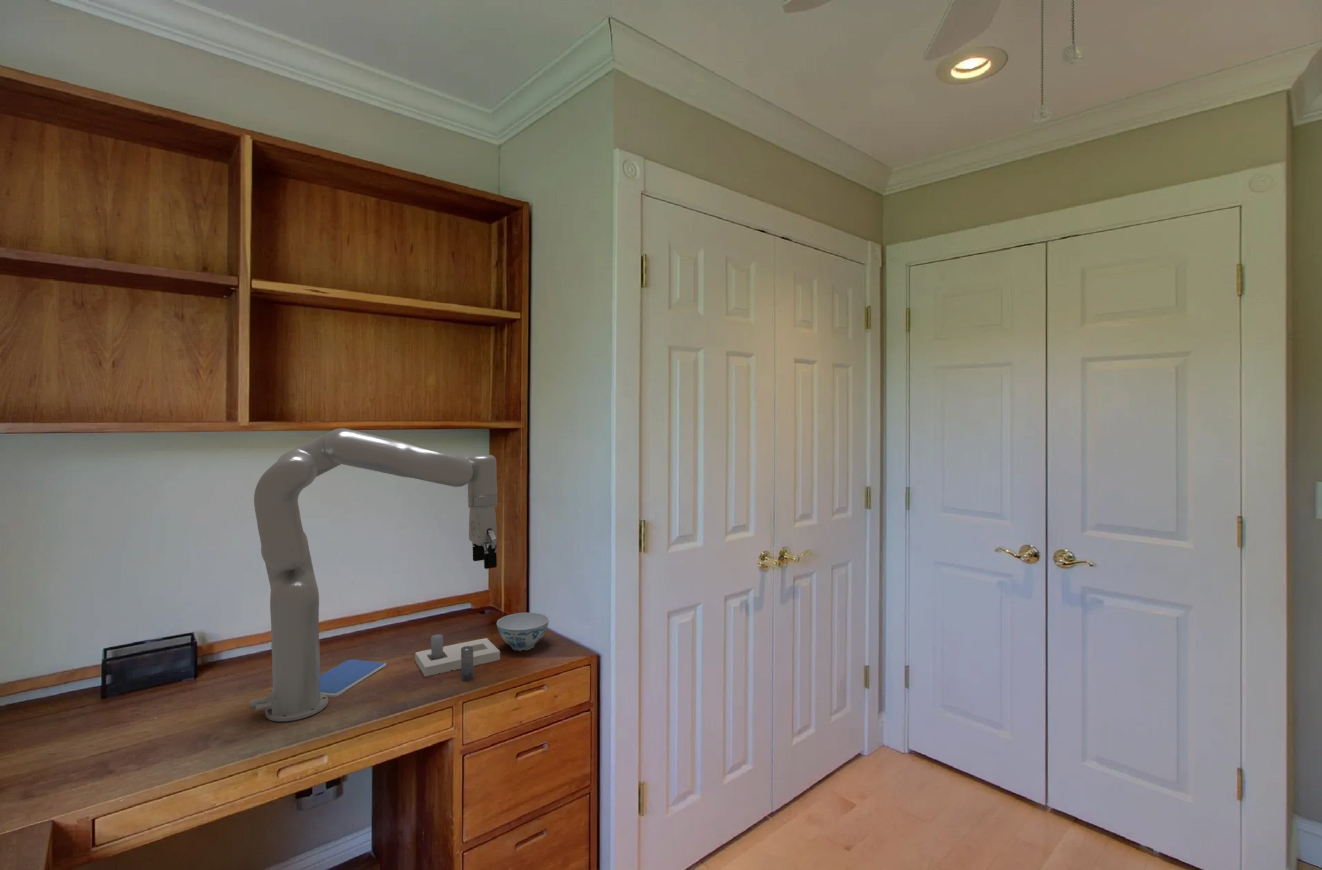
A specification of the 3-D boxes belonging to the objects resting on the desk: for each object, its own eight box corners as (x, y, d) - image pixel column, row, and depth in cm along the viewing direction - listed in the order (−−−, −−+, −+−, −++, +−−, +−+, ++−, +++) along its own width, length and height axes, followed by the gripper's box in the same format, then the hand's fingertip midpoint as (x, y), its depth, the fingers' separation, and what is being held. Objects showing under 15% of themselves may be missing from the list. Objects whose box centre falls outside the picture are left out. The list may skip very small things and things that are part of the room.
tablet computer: (336, 699, 151) (336, 694, 151) (292, 694, 154) (292, 689, 154) (388, 667, 170) (388, 662, 170) (348, 663, 173) (348, 658, 173)
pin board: (425, 676, 162) (424, 646, 162) (415, 661, 172) (414, 632, 172) (499, 660, 173) (499, 631, 173) (486, 646, 183) (486, 619, 183)
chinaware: (485, 650, 180) (485, 624, 180) (521, 634, 193) (521, 609, 193) (525, 660, 173) (524, 633, 173) (559, 643, 186) (559, 617, 186)
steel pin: (463, 682, 159) (462, 651, 159) (460, 677, 162) (459, 647, 162) (474, 679, 161) (474, 648, 161) (471, 675, 164) (471, 645, 163)
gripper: (459, 498, 171) (461, 559, 172) (478, 506, 157) (480, 573, 158) (486, 496, 175) (488, 555, 176) (507, 503, 161) (509, 568, 162)
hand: (484, 564), depth 167 cm, fingers open, 9 cm apart
